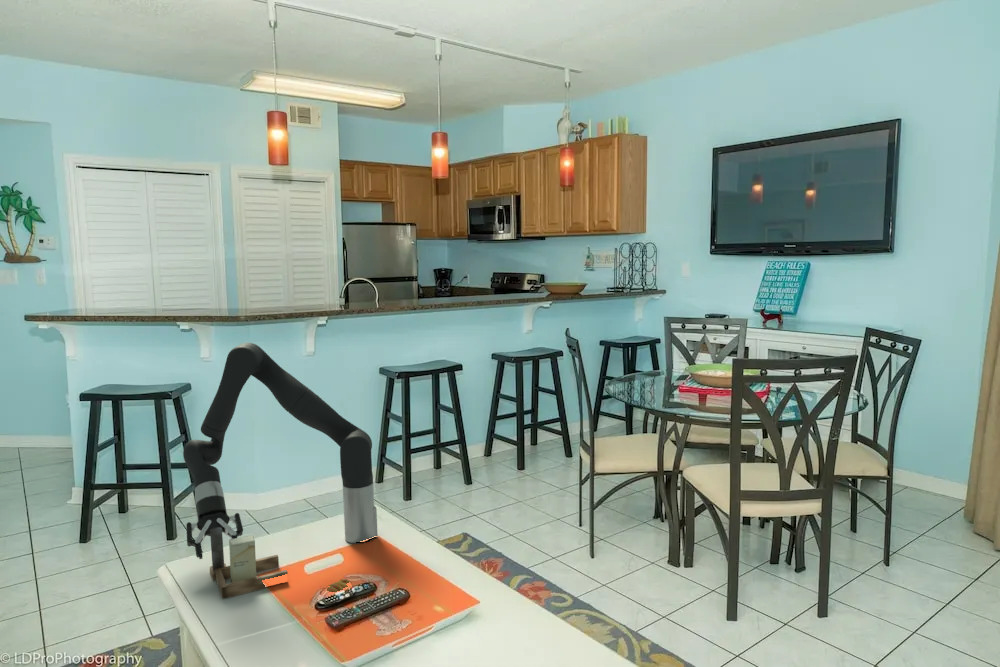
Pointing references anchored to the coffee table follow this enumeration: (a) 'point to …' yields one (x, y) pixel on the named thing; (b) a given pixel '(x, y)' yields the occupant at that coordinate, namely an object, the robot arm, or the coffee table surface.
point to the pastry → (338, 585)
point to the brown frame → (223, 572)
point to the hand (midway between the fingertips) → (218, 554)
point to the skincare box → (242, 558)
